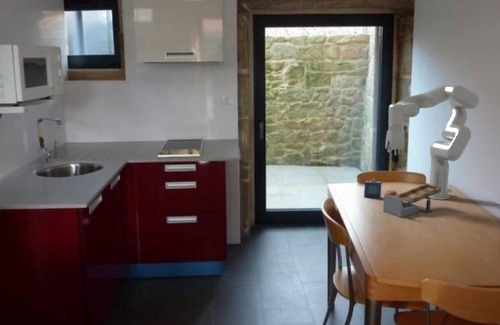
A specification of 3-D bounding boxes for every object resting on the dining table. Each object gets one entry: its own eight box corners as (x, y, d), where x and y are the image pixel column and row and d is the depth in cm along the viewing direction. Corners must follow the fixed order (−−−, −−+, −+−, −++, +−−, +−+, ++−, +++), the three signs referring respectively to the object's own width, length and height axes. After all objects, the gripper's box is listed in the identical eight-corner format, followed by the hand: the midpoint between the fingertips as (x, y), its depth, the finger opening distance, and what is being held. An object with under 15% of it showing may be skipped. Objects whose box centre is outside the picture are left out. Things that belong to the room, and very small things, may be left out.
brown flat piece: (412, 185, 286) (412, 180, 285) (444, 193, 269) (444, 188, 268) (384, 196, 276) (384, 190, 275) (415, 205, 259) (415, 200, 258)
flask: (380, 196, 293) (381, 178, 290) (381, 198, 290) (382, 179, 287) (363, 196, 293) (364, 178, 291) (364, 198, 290) (365, 179, 288)
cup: (399, 207, 272) (400, 191, 270) (416, 213, 262) (418, 196, 260) (383, 211, 266) (384, 194, 264) (400, 217, 256) (401, 199, 254)
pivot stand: (409, 204, 278) (410, 193, 276) (432, 211, 265) (433, 200, 264) (404, 205, 276) (405, 194, 274) (427, 212, 263) (427, 201, 262)
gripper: (400, 125, 279) (399, 158, 283) (380, 128, 272) (379, 163, 276) (411, 126, 273) (410, 161, 277) (391, 130, 265) (390, 165, 270)
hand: (395, 161), depth 276 cm, fingers closed
